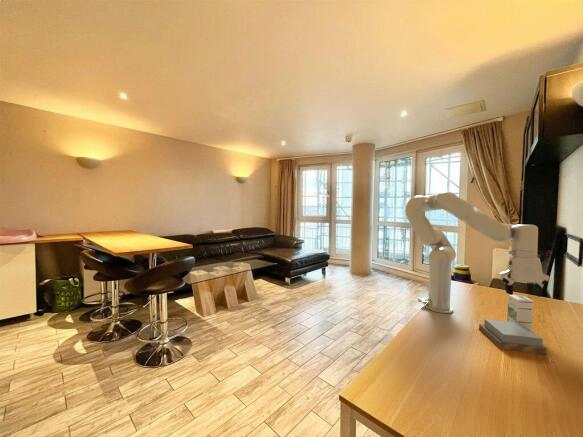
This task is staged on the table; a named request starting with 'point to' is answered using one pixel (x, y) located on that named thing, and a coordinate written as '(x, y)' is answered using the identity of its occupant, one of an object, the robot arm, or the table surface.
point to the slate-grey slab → (513, 332)
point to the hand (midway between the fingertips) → (523, 294)
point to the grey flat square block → (511, 345)
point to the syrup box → (520, 310)
